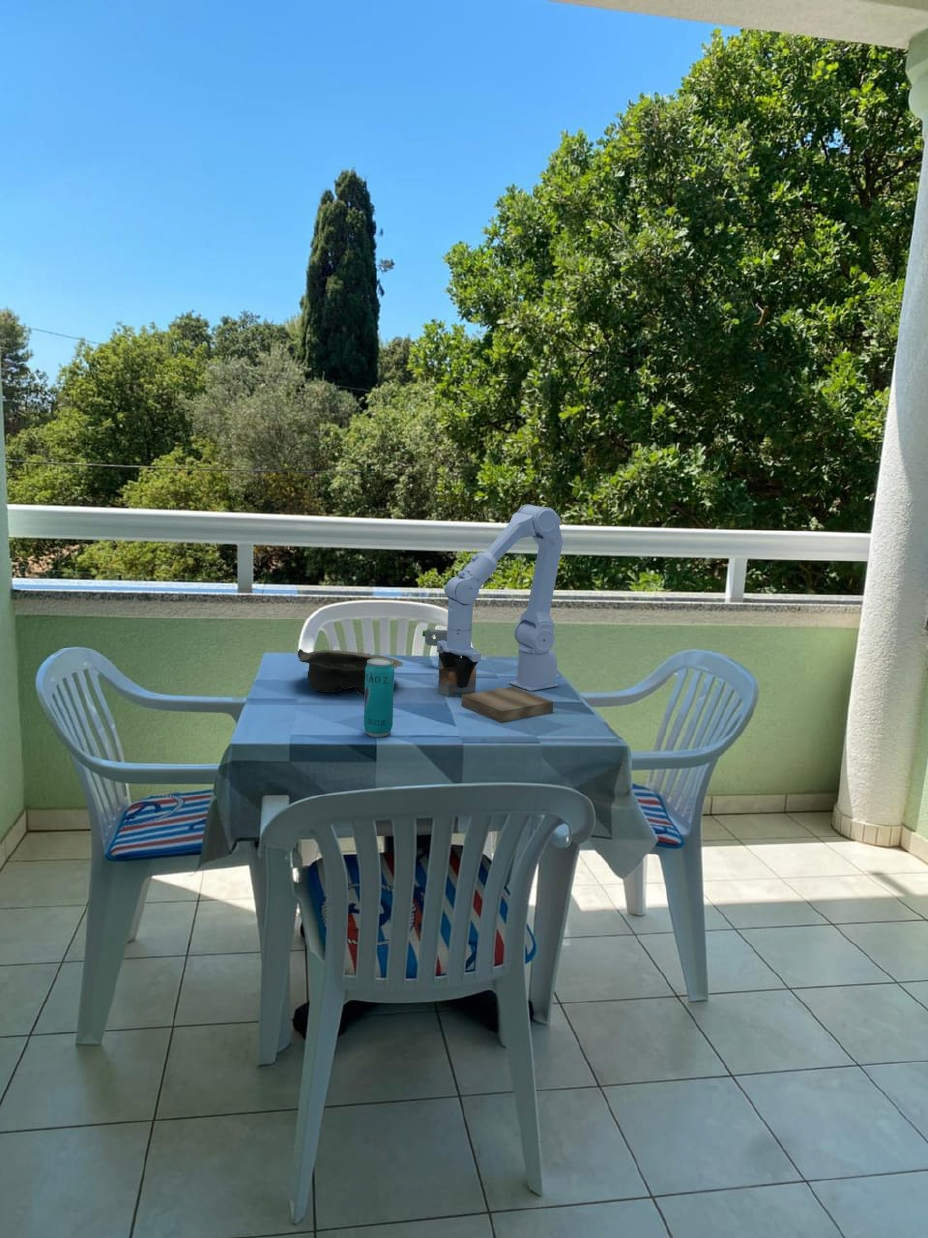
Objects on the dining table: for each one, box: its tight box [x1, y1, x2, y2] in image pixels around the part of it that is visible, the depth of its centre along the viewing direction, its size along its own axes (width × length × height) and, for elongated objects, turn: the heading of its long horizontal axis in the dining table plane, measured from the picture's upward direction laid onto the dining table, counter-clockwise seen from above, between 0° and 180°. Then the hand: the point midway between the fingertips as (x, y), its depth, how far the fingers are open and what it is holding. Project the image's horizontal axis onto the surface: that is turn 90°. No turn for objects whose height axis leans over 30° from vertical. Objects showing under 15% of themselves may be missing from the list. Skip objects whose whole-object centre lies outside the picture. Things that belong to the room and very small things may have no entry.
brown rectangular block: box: [437, 666, 477, 698], centre depth 214 cm, size 8×4×6 cm, turn 128°
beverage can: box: [363, 658, 395, 738], centre depth 181 cm, size 6×6×15 cm
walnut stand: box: [461, 685, 554, 723], centre depth 203 cm, size 15×14×2 cm
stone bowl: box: [297, 648, 404, 695], centre depth 215 cm, size 25×25×9 cm
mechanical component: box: [422, 628, 447, 670], centre depth 235 cm, size 3×10×10 cm, turn 78°
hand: (457, 684), depth 214 cm, fingers closed on brown rectangular block, 4 cm apart
